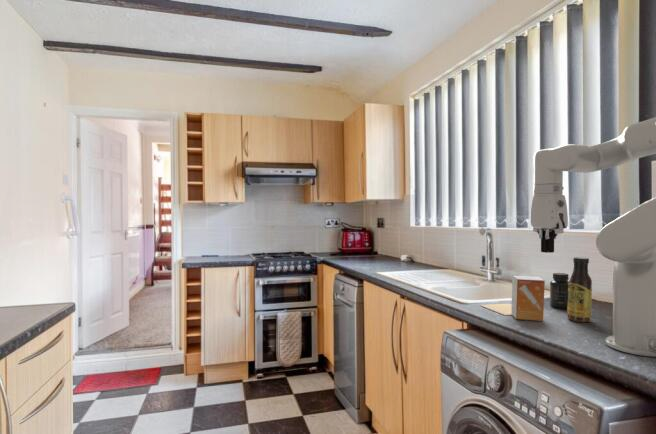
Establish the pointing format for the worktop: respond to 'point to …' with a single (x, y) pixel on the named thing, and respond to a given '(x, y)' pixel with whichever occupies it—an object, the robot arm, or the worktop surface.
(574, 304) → the sauce bottle
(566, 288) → the supplement bottle
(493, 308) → the cork mat
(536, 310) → the small box
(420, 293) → the worktop surface
